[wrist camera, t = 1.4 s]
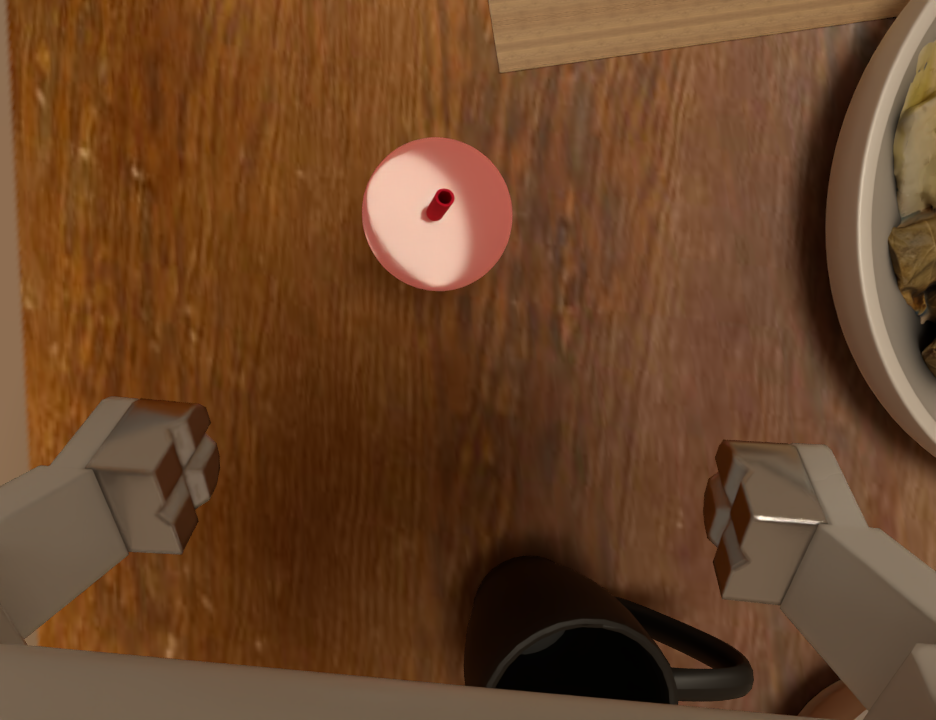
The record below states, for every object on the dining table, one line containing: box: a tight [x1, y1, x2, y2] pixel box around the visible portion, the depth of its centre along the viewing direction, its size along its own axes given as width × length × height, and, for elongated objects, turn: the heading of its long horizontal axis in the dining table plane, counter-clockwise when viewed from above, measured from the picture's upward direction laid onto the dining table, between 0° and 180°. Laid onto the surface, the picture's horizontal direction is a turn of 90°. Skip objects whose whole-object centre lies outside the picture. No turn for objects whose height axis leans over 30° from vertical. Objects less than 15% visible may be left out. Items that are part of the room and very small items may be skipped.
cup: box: [362, 137, 512, 291], centre depth 28 cm, size 5×5×12 cm
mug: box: [464, 556, 754, 705], centre depth 32 cm, size 8×12×10 cm
